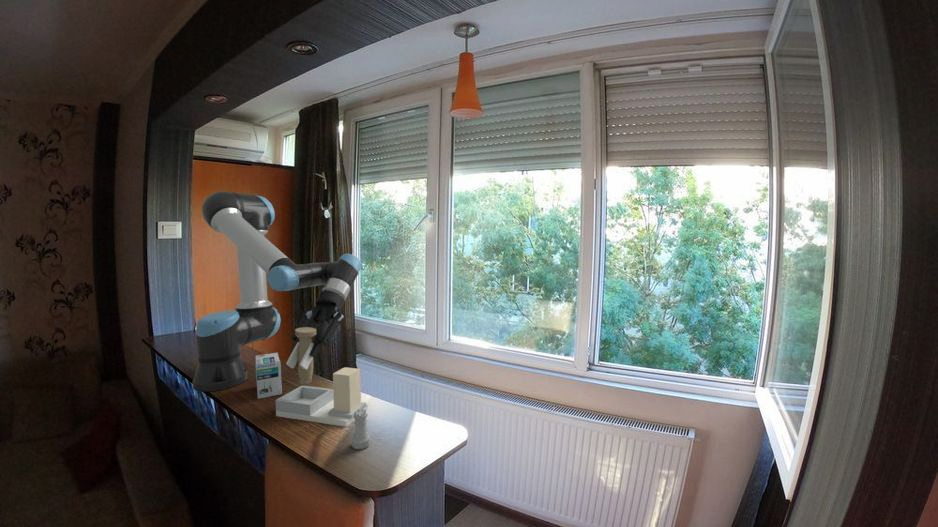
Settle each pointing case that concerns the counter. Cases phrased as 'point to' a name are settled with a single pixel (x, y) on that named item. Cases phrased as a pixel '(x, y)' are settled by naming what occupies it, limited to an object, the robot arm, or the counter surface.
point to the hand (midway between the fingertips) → (296, 366)
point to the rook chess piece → (360, 431)
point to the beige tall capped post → (304, 342)
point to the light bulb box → (268, 375)
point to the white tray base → (325, 400)
